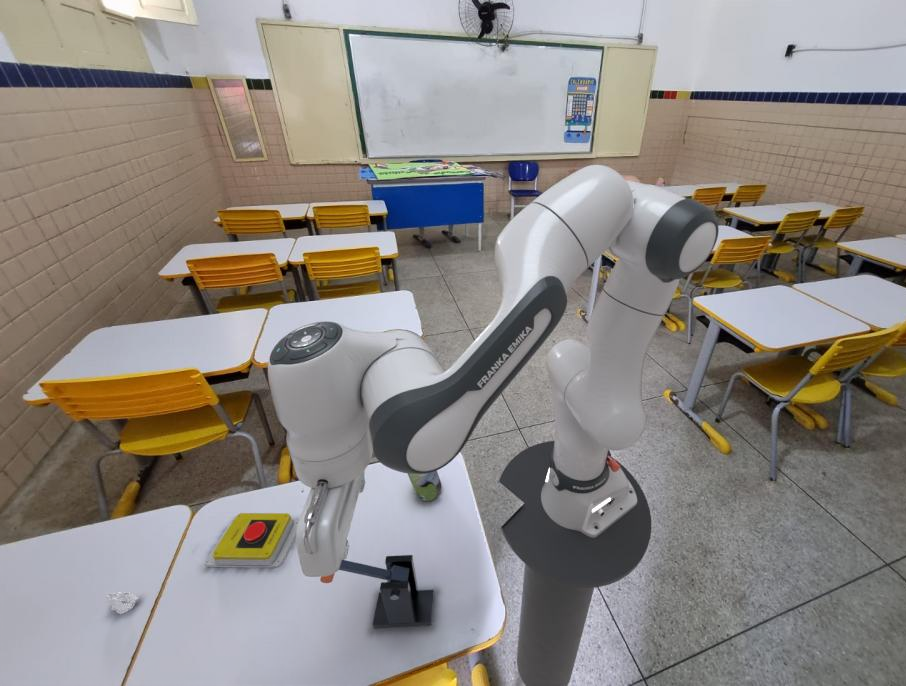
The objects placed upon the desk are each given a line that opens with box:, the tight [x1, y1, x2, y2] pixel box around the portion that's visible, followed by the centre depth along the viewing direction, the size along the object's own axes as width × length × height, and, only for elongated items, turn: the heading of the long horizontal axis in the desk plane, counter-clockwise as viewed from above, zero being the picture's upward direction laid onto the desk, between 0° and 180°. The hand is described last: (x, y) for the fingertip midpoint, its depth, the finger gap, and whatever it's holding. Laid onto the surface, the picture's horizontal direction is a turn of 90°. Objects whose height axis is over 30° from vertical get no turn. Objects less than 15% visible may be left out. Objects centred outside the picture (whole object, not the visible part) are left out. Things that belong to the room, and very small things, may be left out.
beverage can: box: [406, 470, 442, 502], centre depth 85 cm, size 6×7×12 cm
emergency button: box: [204, 512, 299, 569], centre depth 77 cm, size 9×4×15 cm
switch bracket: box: [372, 554, 435, 629], centre depth 65 cm, size 10×6×13 cm, turn 93°
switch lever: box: [319, 559, 409, 584], centre depth 61 cm, size 13×5×2 cm, turn 93°
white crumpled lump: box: [106, 591, 139, 615], centre depth 67 cm, size 5×2×4 cm, turn 93°
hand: (350, 518), depth 52 cm, fingers open, 8 cm apart
